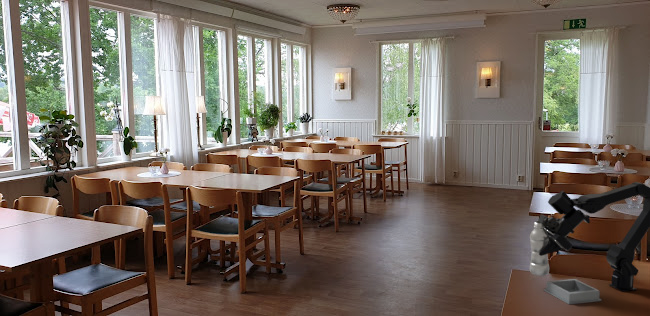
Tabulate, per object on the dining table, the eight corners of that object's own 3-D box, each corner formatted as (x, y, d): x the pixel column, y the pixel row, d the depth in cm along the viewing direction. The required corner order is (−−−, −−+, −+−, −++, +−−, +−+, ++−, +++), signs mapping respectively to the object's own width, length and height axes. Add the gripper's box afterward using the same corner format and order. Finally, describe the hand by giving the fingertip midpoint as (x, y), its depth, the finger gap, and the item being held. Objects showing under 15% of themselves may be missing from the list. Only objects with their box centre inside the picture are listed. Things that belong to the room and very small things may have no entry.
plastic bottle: (551, 278, 181) (551, 224, 179) (531, 278, 182) (531, 224, 180) (546, 272, 187) (547, 220, 185) (527, 271, 188) (528, 220, 186)
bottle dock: (575, 287, 185) (575, 278, 184) (601, 300, 172) (602, 291, 172) (544, 290, 182) (544, 281, 182) (568, 304, 169) (569, 294, 169)
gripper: (542, 202, 191) (512, 231, 193) (563, 213, 172) (530, 244, 174) (563, 222, 191) (533, 250, 193) (586, 235, 173) (552, 266, 175)
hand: (536, 252), depth 184 cm, fingers closed on plastic bottle, 6 cm apart
